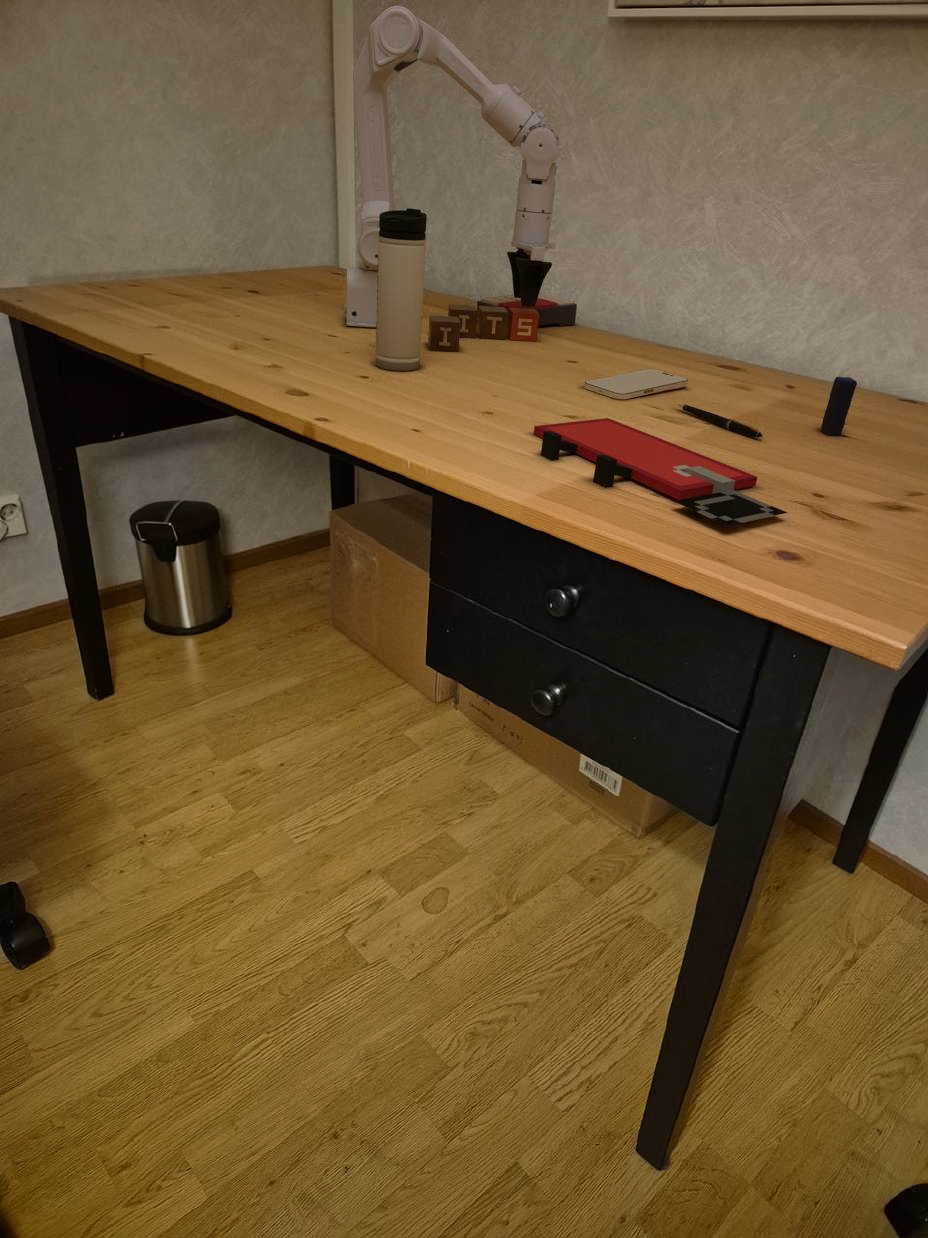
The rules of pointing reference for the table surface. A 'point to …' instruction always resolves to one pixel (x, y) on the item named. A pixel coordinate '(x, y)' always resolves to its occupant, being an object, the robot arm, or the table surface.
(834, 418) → the eraser
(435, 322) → the I block front
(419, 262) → the travel mug
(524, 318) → the block
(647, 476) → the red board with handle
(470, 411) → the table surface
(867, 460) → the table surface
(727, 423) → the fountain pen
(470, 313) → the dark brown cube block
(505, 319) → the T block
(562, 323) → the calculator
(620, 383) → the smartphone
